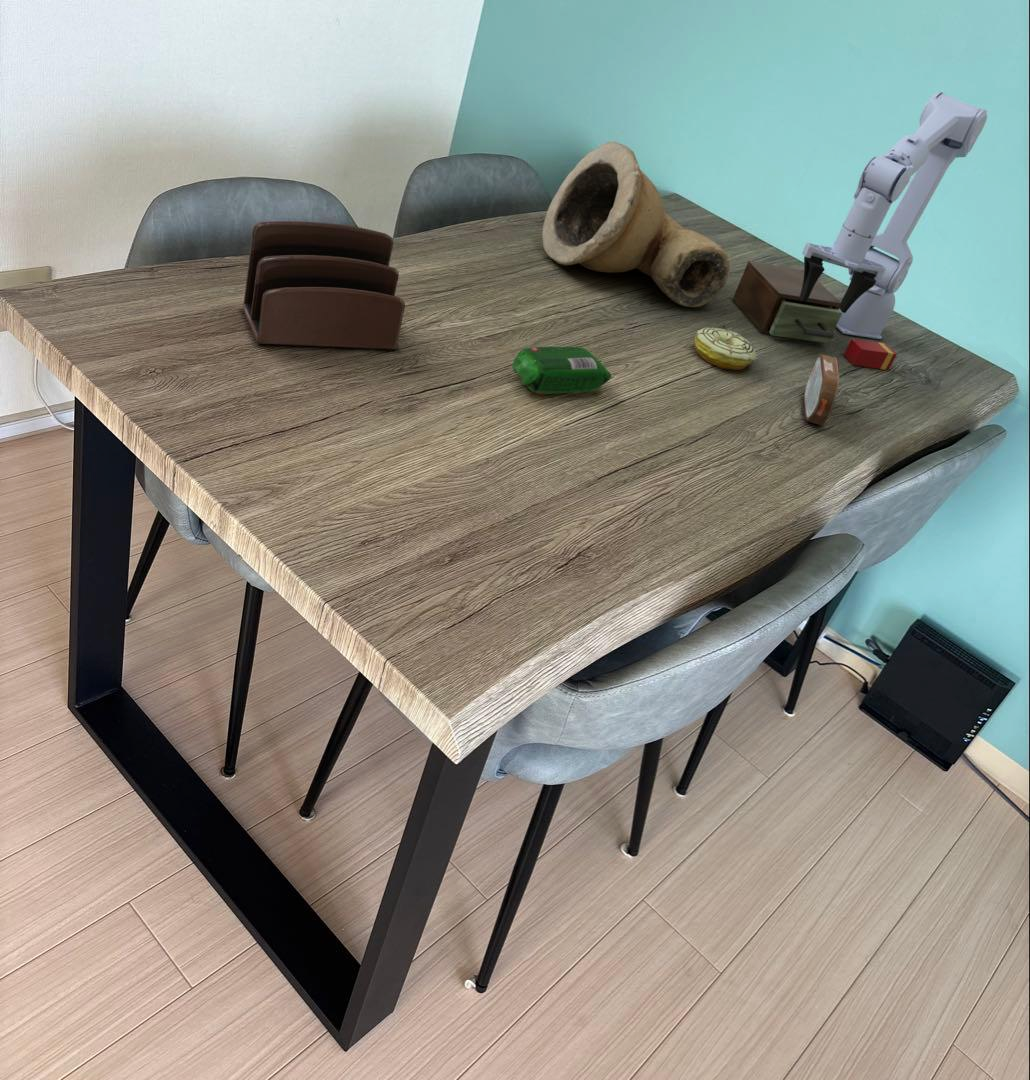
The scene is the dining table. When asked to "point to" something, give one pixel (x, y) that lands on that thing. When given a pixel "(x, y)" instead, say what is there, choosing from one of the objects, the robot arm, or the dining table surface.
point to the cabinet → (774, 292)
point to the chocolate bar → (870, 354)
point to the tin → (821, 389)
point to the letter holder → (322, 286)
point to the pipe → (629, 229)
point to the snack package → (560, 370)
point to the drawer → (804, 321)
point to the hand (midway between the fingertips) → (822, 304)
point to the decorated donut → (724, 348)
